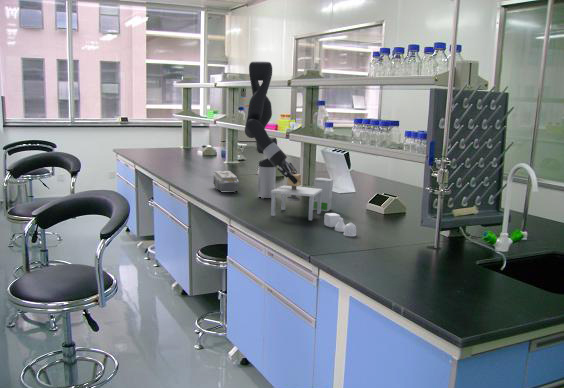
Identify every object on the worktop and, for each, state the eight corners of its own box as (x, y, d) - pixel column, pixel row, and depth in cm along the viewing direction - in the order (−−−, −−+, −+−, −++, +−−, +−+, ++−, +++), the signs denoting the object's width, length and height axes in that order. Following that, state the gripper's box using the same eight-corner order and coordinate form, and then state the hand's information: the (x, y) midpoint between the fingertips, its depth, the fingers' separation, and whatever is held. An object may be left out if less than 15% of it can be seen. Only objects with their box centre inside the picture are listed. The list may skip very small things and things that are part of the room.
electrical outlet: (229, 184, 312) (229, 168, 310) (241, 196, 286) (242, 179, 284) (210, 185, 308) (210, 169, 306) (221, 197, 282) (221, 179, 280)
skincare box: (312, 210, 250) (313, 179, 248) (315, 207, 257) (317, 177, 254) (328, 211, 248) (330, 180, 245) (331, 209, 254) (333, 178, 251)
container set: (323, 225, 221) (324, 213, 220) (334, 224, 223) (334, 212, 222) (347, 237, 203) (348, 224, 202) (358, 236, 205) (359, 223, 204)
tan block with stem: (289, 198, 242) (290, 173, 240) (301, 199, 240) (302, 174, 238) (285, 200, 236) (286, 174, 234) (297, 201, 234) (298, 175, 232)
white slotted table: (282, 209, 250) (282, 185, 248) (321, 213, 243) (322, 189, 241) (270, 215, 235) (271, 190, 233) (311, 220, 228) (313, 194, 226)
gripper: (275, 150, 230) (299, 178, 228) (285, 148, 243) (308, 175, 241) (263, 161, 232) (287, 189, 231) (274, 158, 246) (297, 185, 244)
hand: (298, 181), depth 236 cm, fingers closed on tan block with stem, 5 cm apart
